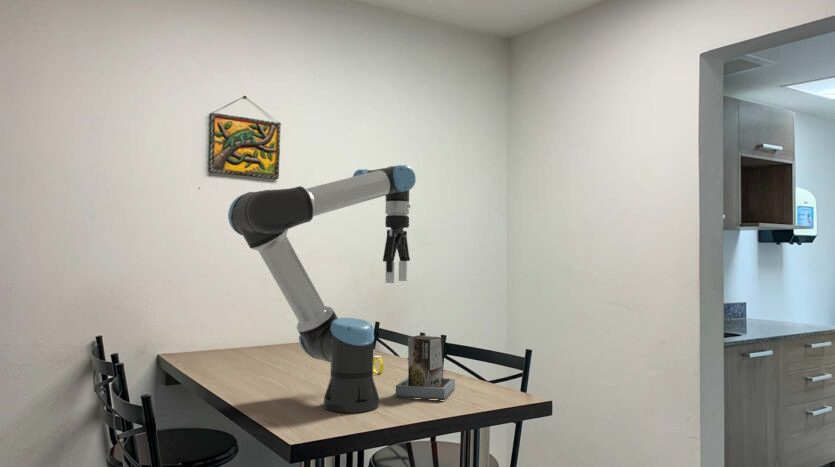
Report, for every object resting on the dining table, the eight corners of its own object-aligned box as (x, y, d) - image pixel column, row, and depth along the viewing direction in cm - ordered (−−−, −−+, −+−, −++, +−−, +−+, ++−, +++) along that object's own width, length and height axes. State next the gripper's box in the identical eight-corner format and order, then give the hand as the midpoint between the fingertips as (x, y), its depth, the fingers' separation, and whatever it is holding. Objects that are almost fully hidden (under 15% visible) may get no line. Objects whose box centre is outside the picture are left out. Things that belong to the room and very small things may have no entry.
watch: (385, 374, 212) (385, 357, 212) (378, 375, 210) (379, 358, 210) (375, 370, 217) (376, 354, 217) (368, 371, 215) (369, 354, 215)
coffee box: (444, 391, 183) (444, 337, 183) (429, 395, 178) (430, 339, 178) (421, 386, 189) (422, 334, 189) (407, 390, 184) (407, 336, 184)
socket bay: (444, 401, 174) (444, 389, 174) (395, 397, 178) (395, 385, 178) (454, 390, 188) (454, 378, 188) (409, 387, 192) (409, 375, 192)
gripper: (397, 212, 182) (396, 284, 182) (418, 217, 207) (418, 280, 206) (373, 212, 184) (372, 283, 184) (397, 217, 209) (396, 279, 208)
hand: (396, 282), depth 195 cm, fingers open, 13 cm apart
